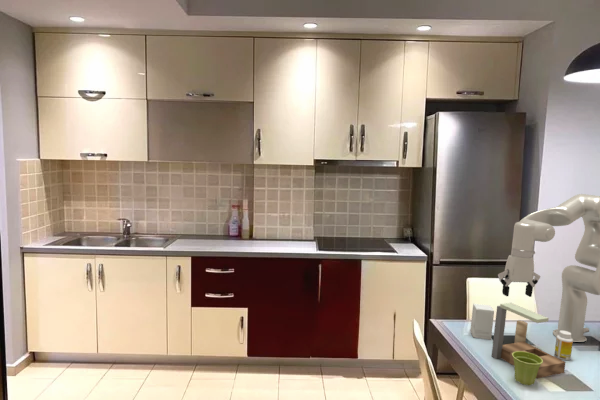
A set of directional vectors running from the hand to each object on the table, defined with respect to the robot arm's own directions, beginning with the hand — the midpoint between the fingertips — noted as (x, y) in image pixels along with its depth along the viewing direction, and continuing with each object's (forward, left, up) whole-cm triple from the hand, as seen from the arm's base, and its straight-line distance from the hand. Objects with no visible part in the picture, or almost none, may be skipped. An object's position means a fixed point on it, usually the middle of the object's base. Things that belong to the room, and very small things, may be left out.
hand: (516, 295), depth 181 cm
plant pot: (+18, +22, -22) cm, 36 cm away
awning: (+12, +12, -22) cm, 28 cm away
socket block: (+5, +13, -22) cm, 26 cm away
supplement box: (+3, -13, -22) cm, 26 cm away
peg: (-5, 0, -22) cm, 22 cm away
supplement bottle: (-13, +13, -22) cm, 29 cm away
